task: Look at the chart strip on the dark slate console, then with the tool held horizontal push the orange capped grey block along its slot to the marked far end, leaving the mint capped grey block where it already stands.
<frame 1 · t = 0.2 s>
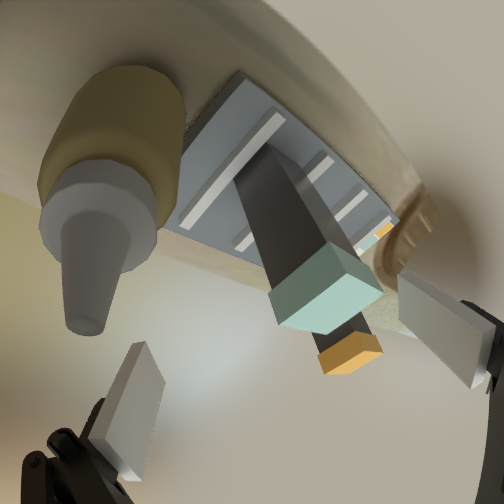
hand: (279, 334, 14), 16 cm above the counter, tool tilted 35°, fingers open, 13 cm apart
squeeze bottle: (131, 104, 19), on the counter
console: (287, 201, 30), on the counter
mint capped grey block: (295, 225, 19), point 9 cm above the counter, slide at 5.7 cm
orange capped grey block: (330, 307, 29), point 9 cm above the counter, slide at 0.0 cm
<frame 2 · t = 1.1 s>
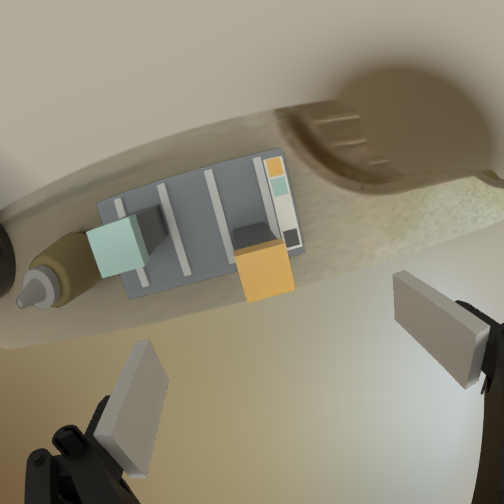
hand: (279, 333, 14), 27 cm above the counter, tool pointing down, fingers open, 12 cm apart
squeeze bottle: (88, 254, 39), on the counter
console: (200, 223, 40), on the counter
mint capped grey block: (134, 233, 30), point 9 cm above the counter, slide at 5.7 cm
orange capped grey block: (257, 254, 32), point 9 cm above the counter, slide at 0.0 cm
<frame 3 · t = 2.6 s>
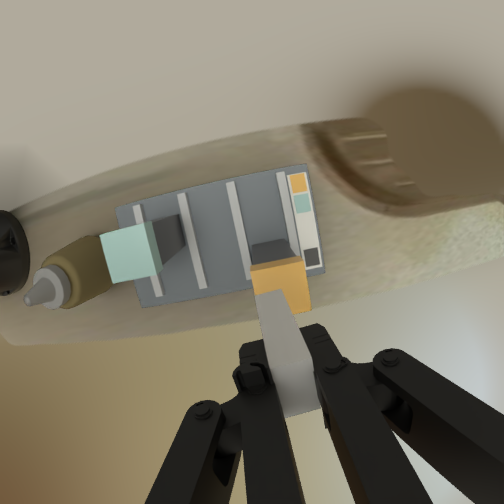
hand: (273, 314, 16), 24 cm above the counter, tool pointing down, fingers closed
squeeze bottle: (104, 258, 40), on the counter
console: (219, 236, 39), on the counter
mint capped grey block: (150, 241, 30), point 9 cm above the counter, slide at 5.7 cm
orange capped grey block: (275, 271, 31), point 9 cm above the counter, slide at 0.0 cm
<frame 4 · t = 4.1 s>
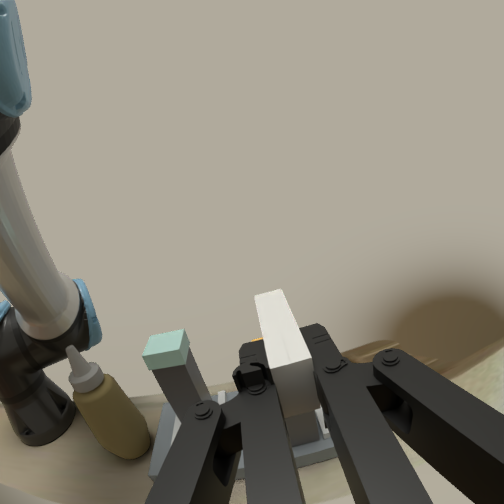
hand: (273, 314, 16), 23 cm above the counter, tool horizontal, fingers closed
squeeze bottle: (134, 446, 34), on the counter
console: (251, 435, 33), on the counter
mint capped grey block: (183, 385, 33), point 9 cm above the counter, slide at 5.7 cm
orange capped grey block: (289, 395, 28), point 9 cm above the counter, slide at 0.0 cm
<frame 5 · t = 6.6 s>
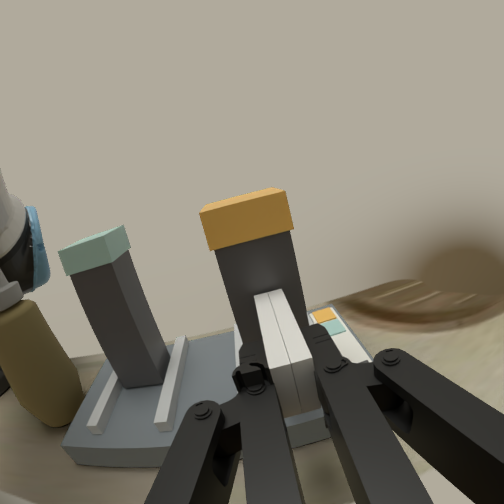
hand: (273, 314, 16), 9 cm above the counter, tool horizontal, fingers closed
squeeze bottle: (65, 412, 23), on the counter
console: (218, 399, 23), on the counter
mint capped grey block: (118, 311, 23), point 9 cm above the counter, slide at 5.7 cm
orange capped grey block: (266, 301, 18), point 9 cm above the counter, slide at 1.0 cm, touching gripper
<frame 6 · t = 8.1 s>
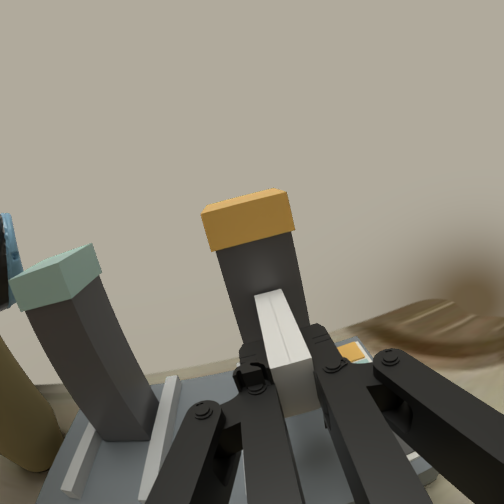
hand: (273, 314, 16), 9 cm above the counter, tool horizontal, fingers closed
squeeze bottle: (44, 453, 17), on the counter
console: (219, 457, 17), on the counter
mint capped grey block: (90, 353, 17), point 9 cm above the counter, slide at 5.7 cm
orange capped grey block: (268, 301, 18), point 9 cm above the counter, slide at 7.6 cm, touching gripper
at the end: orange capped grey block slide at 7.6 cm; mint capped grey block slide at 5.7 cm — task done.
